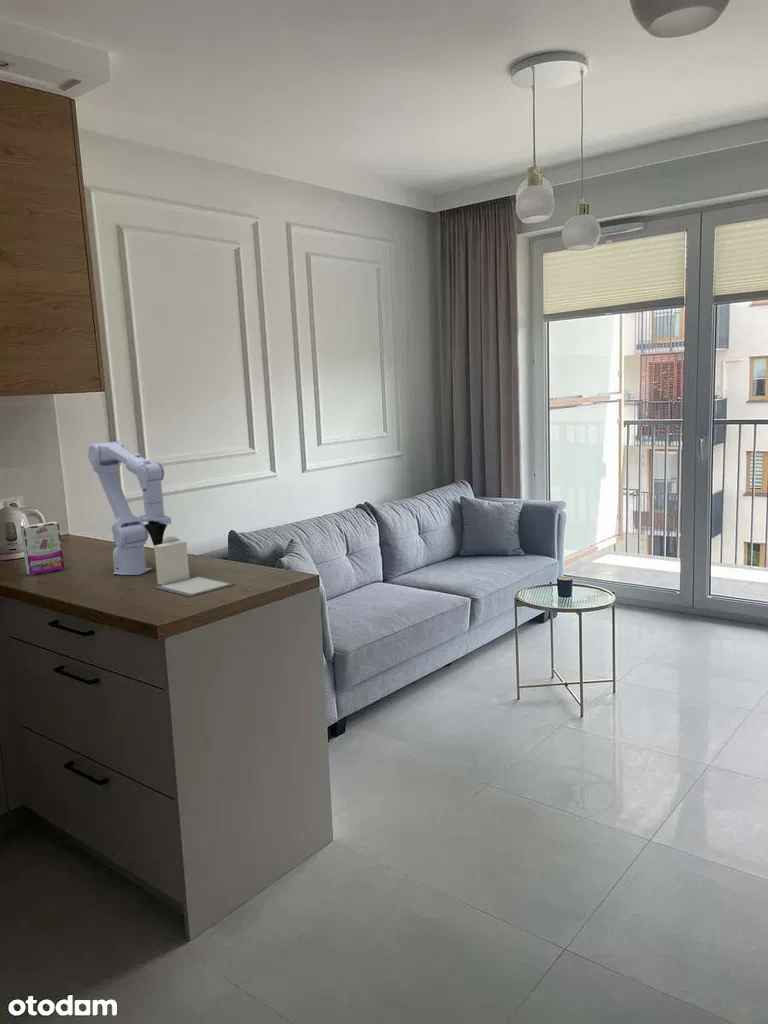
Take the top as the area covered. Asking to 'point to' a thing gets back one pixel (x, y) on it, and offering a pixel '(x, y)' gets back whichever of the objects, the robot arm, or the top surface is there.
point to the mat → (194, 586)
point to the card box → (171, 562)
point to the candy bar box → (42, 548)
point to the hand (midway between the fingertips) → (157, 545)
